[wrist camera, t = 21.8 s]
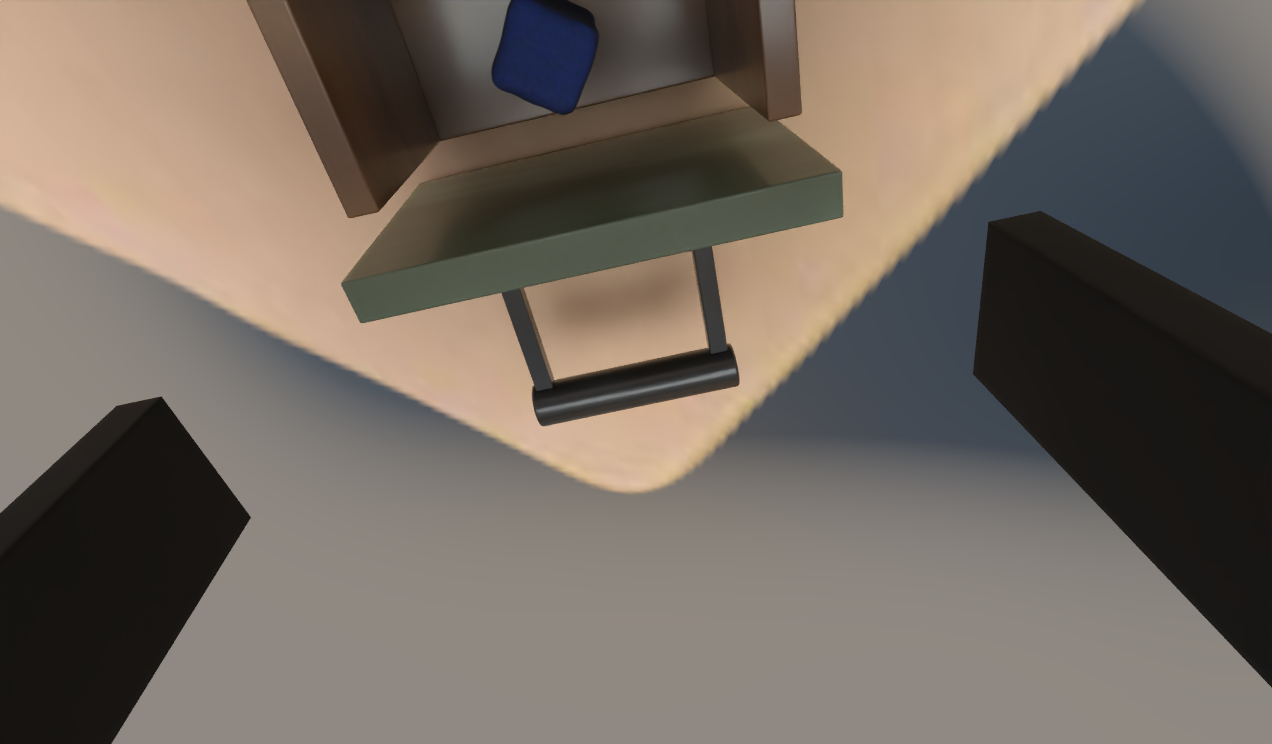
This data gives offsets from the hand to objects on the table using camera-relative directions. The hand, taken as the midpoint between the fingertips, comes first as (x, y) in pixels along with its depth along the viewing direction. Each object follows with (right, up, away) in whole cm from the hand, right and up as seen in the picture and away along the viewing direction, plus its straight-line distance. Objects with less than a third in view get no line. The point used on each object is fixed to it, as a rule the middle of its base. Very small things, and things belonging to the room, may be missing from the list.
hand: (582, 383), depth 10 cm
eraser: (-2, +11, +10) cm, 15 cm away
